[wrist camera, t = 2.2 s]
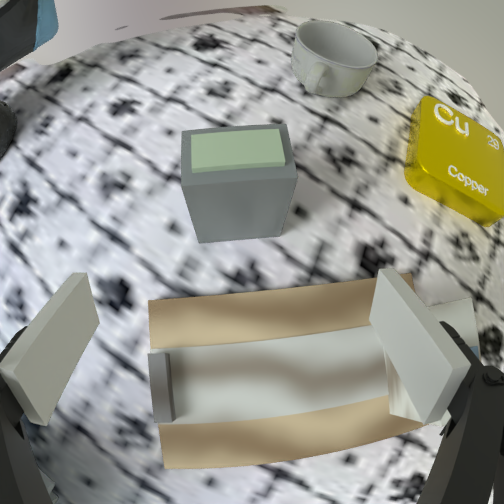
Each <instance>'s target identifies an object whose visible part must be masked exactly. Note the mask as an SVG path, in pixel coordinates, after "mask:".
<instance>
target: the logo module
mask: <svg viewBox="0 0 504 504" xmlns="http://www.w3.org/2000/svg"><path fill="white" fill-rule="evenodd" d="M297 179H298V176H297V171H296V166H295V161H294V156H293V152H292V147H291V143H290V138H289V134H288V129H287V125H286V124H269V125H248V126H232V127H219V128H208V129H197V130H188V131H182V143H181V187H182V190H183V194H184V197H185V200H186V204H187V207H188V210H189V213H190V217H191V220H192V223H193V226H194V229H195V232H196V236H197V239H198V242H199V243H210V242H221V241H233V240H244V239H256V238H268V237H280V234H281V231H282V228H283V225H284V221H285V218H286V215H287V212H288V208H289V205H290V202H291V199H292V195H293V192H294V189H295V186H296V182H297Z"/></svg>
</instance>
